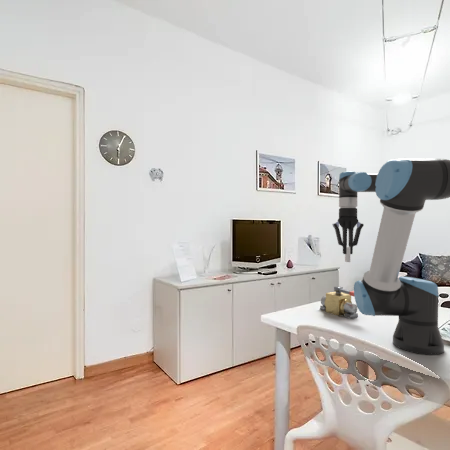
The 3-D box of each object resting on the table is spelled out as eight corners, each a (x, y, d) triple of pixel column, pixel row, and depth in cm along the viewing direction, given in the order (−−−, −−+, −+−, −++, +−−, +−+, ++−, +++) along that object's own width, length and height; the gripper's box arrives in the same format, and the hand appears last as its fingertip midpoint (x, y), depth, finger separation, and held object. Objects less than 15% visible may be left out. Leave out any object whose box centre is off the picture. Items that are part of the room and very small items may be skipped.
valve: (347, 318, 144) (347, 296, 144) (317, 309, 160) (318, 288, 160) (360, 316, 148) (360, 294, 148) (329, 307, 164) (330, 287, 164)
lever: (332, 290, 155) (332, 286, 155) (339, 289, 157) (339, 286, 157) (359, 298, 138) (360, 294, 138) (367, 298, 140) (367, 294, 140)
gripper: (360, 208, 146) (360, 261, 146) (330, 208, 147) (330, 260, 147) (366, 207, 139) (366, 263, 139) (335, 207, 140) (334, 262, 140)
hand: (347, 261), depth 143 cm, fingers closed
